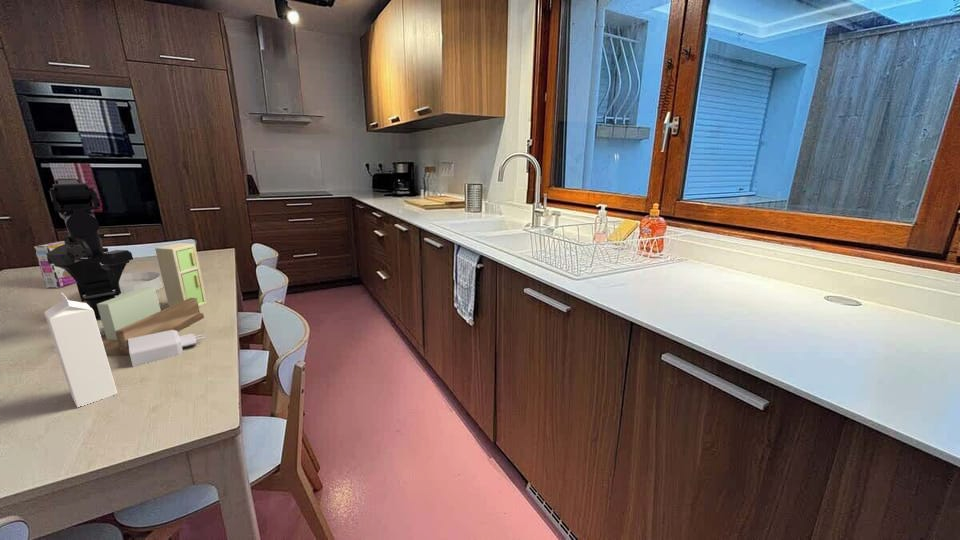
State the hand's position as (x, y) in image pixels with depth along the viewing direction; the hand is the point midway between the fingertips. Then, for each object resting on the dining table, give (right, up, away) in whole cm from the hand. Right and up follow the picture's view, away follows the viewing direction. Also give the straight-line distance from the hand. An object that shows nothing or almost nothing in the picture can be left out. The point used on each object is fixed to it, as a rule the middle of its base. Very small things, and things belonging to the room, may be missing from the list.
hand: (99, 286), depth 107 cm
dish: (-25, -4, +36) cm, 44 cm away
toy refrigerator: (+10, -8, +20) cm, 24 cm away
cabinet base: (+11, -13, +1) cm, 17 cm away
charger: (+27, -17, -8) cm, 32 cm away
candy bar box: (-57, -1, +45) cm, 73 cm away
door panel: (+10, -12, +1) cm, 15 cm away
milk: (+27, -21, -28) cm, 44 cm away
